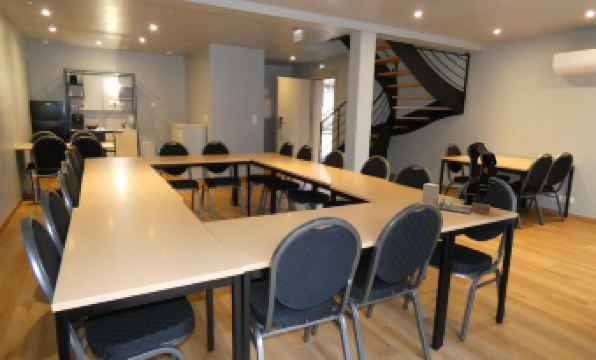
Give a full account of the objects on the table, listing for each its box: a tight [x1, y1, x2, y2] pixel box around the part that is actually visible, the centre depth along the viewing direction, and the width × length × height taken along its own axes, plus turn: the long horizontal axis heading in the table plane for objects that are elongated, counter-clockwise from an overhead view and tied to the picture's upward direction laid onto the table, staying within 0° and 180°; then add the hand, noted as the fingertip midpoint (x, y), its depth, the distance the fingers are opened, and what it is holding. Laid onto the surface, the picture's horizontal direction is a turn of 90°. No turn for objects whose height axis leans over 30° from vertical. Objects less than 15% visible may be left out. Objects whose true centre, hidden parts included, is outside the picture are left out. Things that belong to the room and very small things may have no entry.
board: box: [438, 197, 472, 216], centre depth 231 cm, size 15×18×5 cm
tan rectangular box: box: [471, 202, 491, 215], centre depth 229 cm, size 5×10×5 cm, turn 62°
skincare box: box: [421, 182, 440, 208], centre depth 234 cm, size 8×6×15 cm
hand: (481, 198), depth 228 cm, fingers open, 9 cm apart
